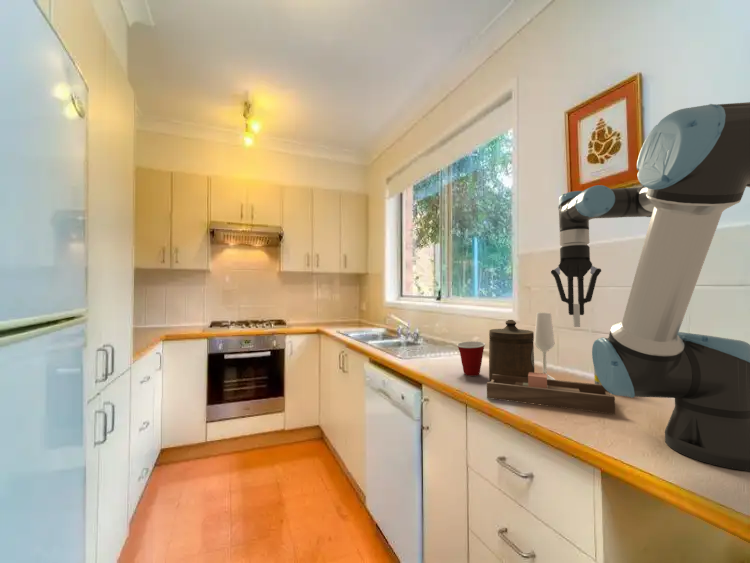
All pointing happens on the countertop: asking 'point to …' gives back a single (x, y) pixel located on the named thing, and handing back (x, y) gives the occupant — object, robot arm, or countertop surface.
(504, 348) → the wooden container
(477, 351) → the plastic cup
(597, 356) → the robot arm
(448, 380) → the countertop surface
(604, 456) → the countertop surface
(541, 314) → the champagne flute
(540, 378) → the block
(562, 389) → the box
